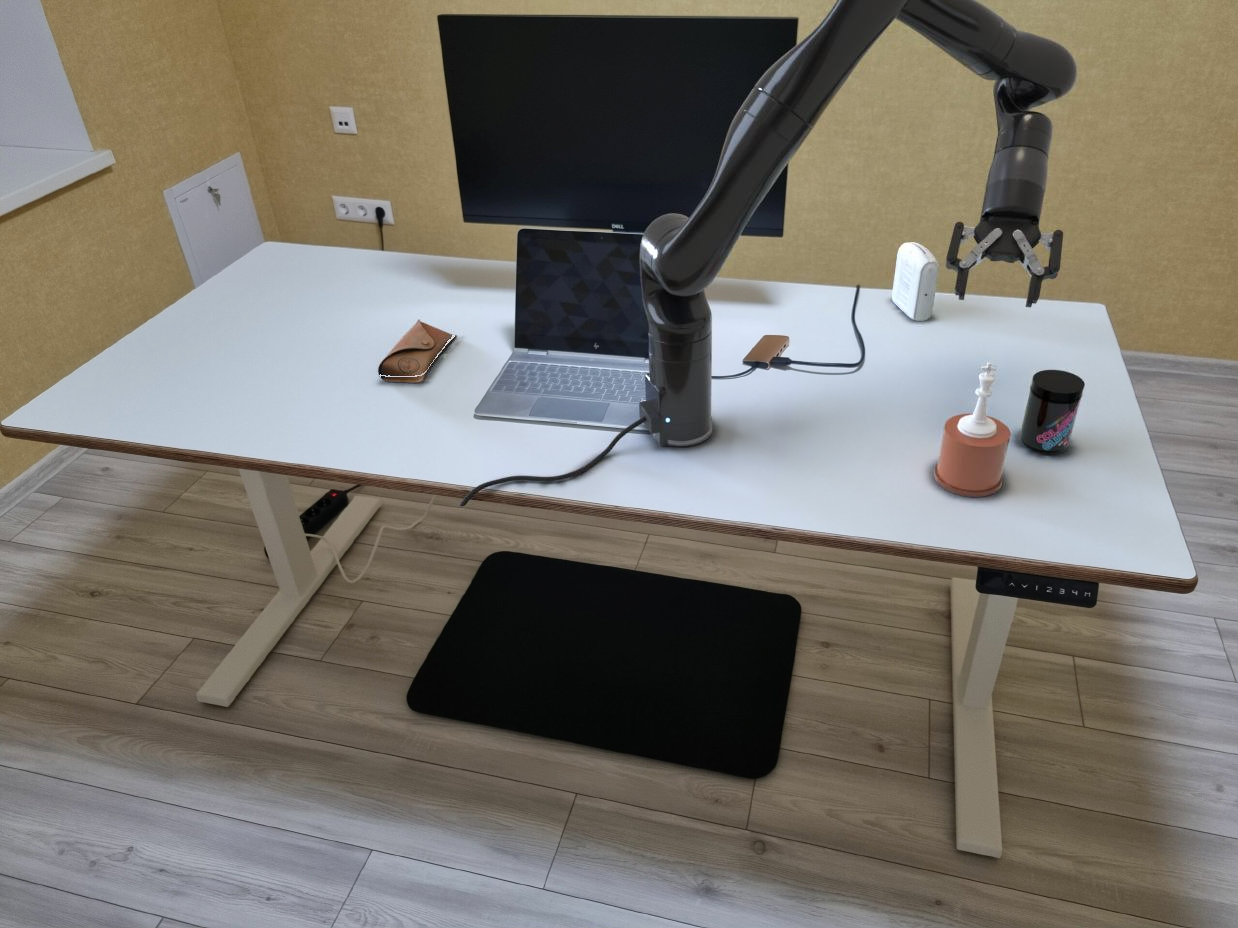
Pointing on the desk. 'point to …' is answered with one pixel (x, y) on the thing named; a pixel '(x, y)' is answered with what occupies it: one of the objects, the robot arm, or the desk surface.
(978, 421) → the chess piece
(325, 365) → the desk surface
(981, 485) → the upturned cup
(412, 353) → the sunglasses case
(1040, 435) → the supplement container
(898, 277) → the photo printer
